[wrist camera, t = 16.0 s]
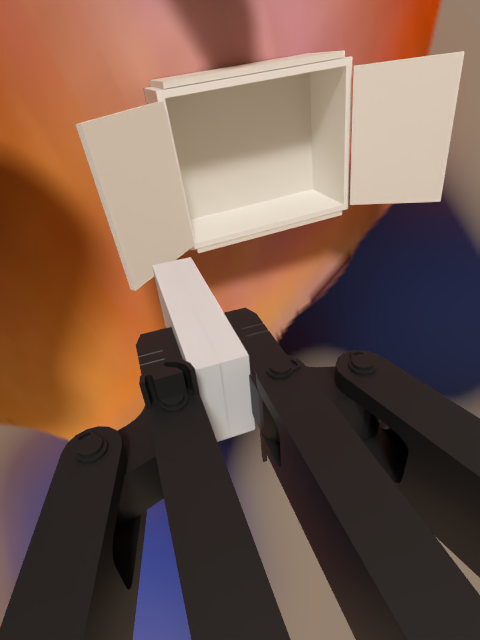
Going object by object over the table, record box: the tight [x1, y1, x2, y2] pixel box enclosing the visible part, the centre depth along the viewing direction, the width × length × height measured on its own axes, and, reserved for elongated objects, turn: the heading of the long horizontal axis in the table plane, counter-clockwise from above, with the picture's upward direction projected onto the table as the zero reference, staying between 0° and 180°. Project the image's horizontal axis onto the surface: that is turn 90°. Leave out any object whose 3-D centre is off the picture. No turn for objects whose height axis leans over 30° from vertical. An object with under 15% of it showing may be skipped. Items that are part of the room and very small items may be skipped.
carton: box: [143, 51, 352, 253], centre depth 40 cm, size 18×15×8 cm
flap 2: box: [350, 51, 464, 205], centre depth 38 cm, size 9×13×1 cm
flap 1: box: [76, 101, 194, 291], centre depth 32 cm, size 9×13×1 cm
